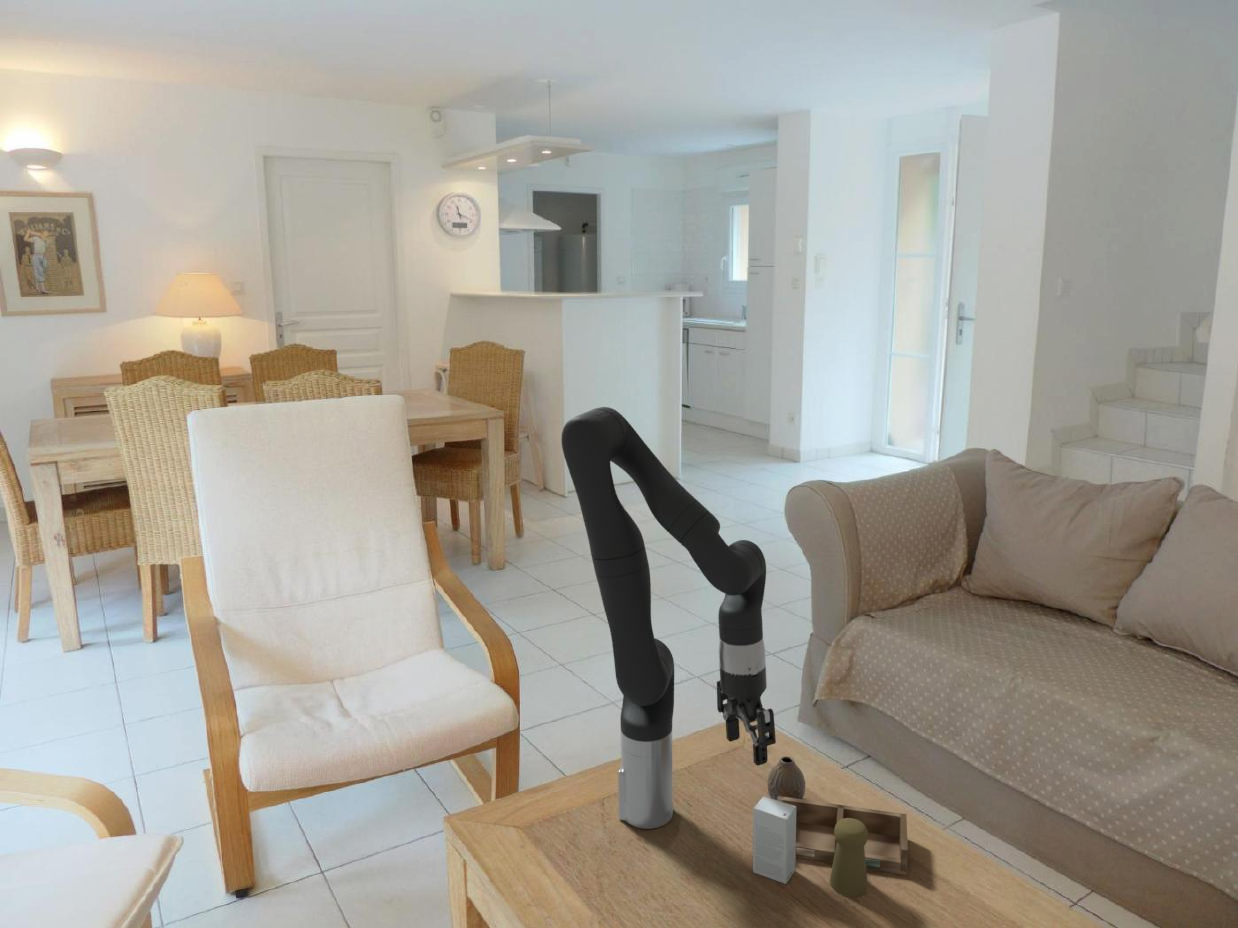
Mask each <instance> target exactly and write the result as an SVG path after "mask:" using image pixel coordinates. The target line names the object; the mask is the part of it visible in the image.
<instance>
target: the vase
mask: <svg viewBox="0 0 1238 928" xmlns="http://www.w3.org/2000/svg"><path fill="white" fill-rule="evenodd" d="M767 793H768V795H769V798H771V799H774V800H777V798H778V796H782V797H789V798H796V799H803V800H804V796H805V793H806V780H805V776H804V774H803V772H802V770H801V769H800V767H799V766H798V765H797V764H796V762H795V760H794V758H792V757H791V756H786V755H785V756H781V757H780V759H779V761H778V762H777V763H776V764H775V765H774V766H773V767H772V768H771V770H770V771H769V774H768V777H767Z"/></svg>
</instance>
